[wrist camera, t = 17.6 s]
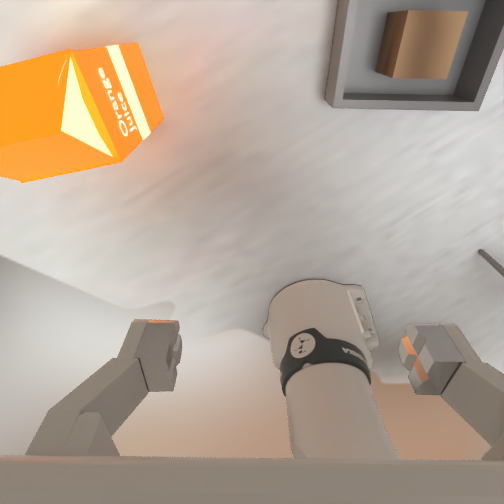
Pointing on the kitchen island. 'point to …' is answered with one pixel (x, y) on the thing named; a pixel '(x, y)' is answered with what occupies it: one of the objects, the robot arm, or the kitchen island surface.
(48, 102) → the orange juice
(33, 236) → the kitchen island surface
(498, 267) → the grey tripod stand
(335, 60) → the bin
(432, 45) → the walnut block
